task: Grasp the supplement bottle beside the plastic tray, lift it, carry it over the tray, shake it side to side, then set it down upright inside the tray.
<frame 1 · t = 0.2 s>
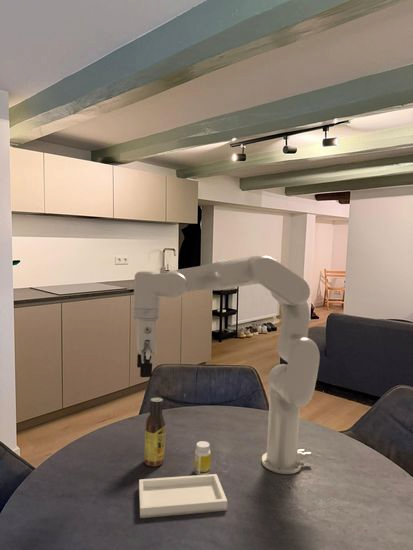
hand: (144, 371, 112), 31 cm above the table, tool pointing down, fingers open, 9 cm apart
supplement bottle: (202, 472, 116), on the table
sauce bottle: (154, 462, 120), on the table
tray: (181, 498, 102), on the table
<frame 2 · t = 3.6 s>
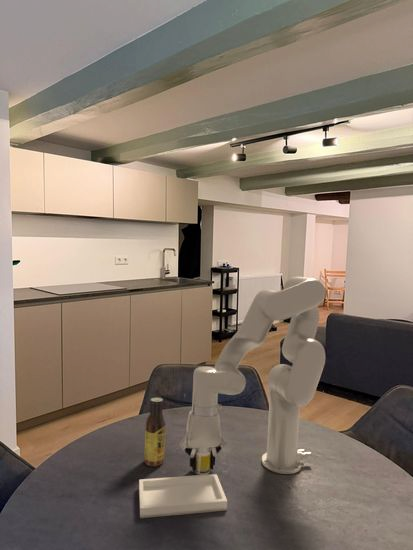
hand: (202, 467, 116), 1 cm above the table, tool pointing down, fingers closed on supplement bottle, 4 cm apart
supplement bottle: (202, 472, 116), on the table, touching gripper
everything else where it was.
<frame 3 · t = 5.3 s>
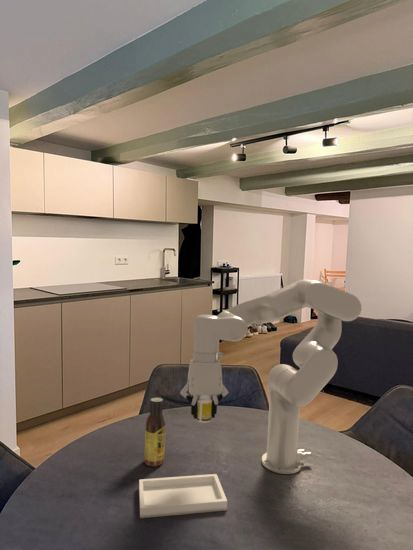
hand: (203, 415, 115), 17 cm above the table, tool pointing down, fingers closed on supplement bottle, 4 cm apart
supplement bottle: (203, 420, 115), point 16 cm above the table, touching gripper
everything else where it was.
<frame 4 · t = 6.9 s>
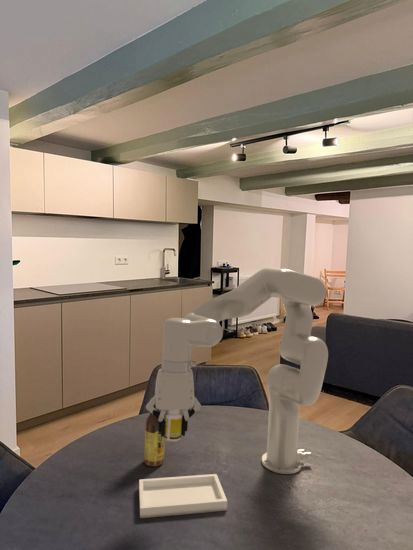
hand: (172, 433, 101), 18 cm above the table, tool pointing down, fingers closed on supplement bottle, 4 cm apart
supplement bottle: (172, 438, 101), point 17 cm above the table, touching gripper
everything else where it was.
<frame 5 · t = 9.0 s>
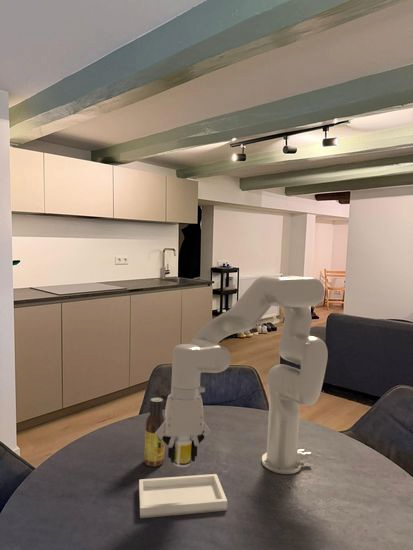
hand: (182, 458, 102), 11 cm above the table, tool pointing down, fingers closed on supplement bottle, 4 cm apart
supplement bottle: (182, 463, 102), point 10 cm above the table, touching gripper
everything else where it was.
when the fingers open (3 cm above the table, at t = 10.7 s): supplement bottle drops 1 cm, resting on tray.
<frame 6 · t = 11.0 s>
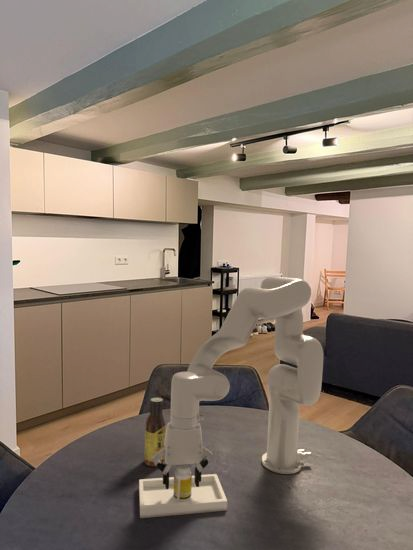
hand: (181, 484, 102), 4 cm above the table, tool pointing down, fingers open, 7 cm apart
supplement bottle: (182, 497, 102), resting on tray
everything else where it was.
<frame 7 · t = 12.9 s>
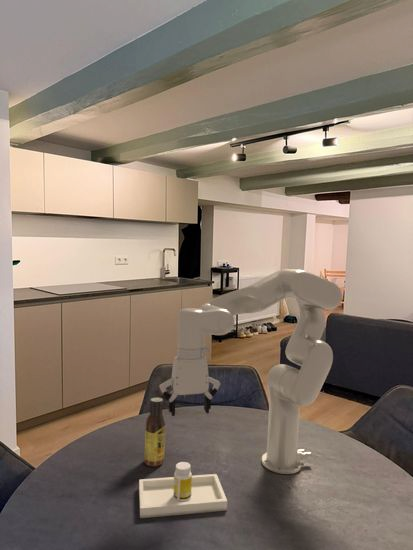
hand: (189, 412, 108), 21 cm above the table, tool pointing down, fingers open, 9 cm apart
nothing on the table moved.
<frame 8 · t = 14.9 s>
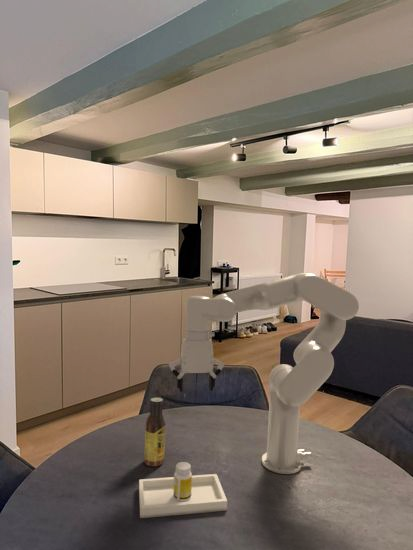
hand: (195, 390, 120), 23 cm above the table, tool pointing down, fingers open, 9 cm apart
nothing on the table moved.
at the end: supplement bottle inside the target area on the tray (0.3 cm from its centre), point 0.4 cm above the tray's base; supplement bottle tilted 0°; the gripper is holding nothing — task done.
